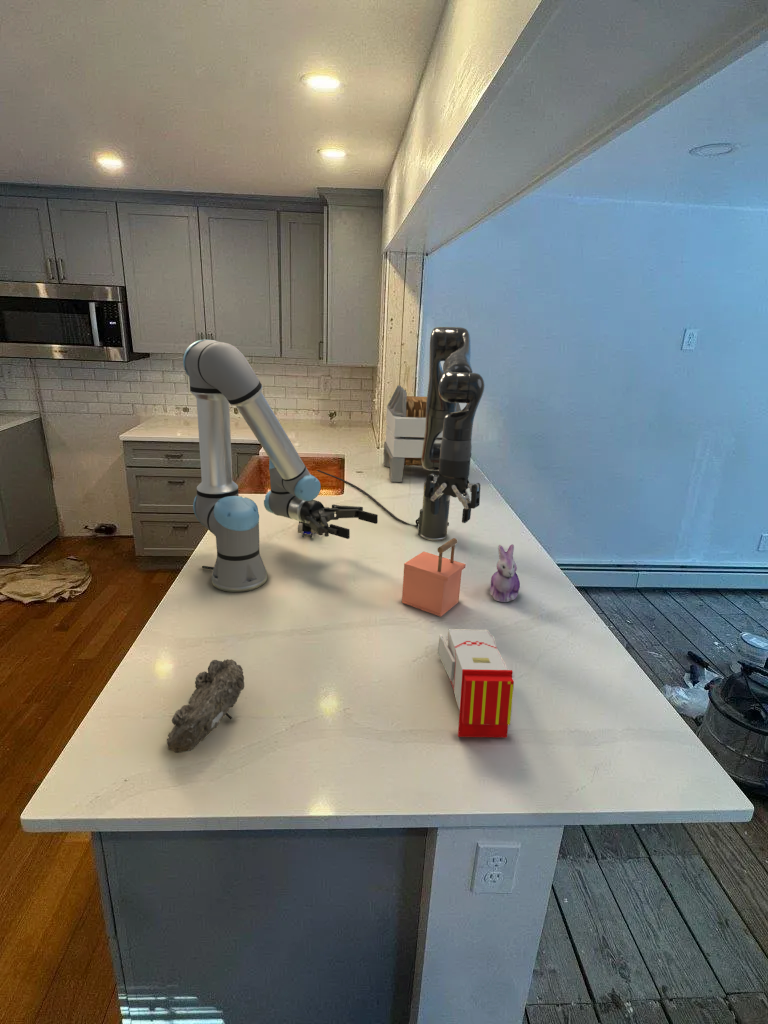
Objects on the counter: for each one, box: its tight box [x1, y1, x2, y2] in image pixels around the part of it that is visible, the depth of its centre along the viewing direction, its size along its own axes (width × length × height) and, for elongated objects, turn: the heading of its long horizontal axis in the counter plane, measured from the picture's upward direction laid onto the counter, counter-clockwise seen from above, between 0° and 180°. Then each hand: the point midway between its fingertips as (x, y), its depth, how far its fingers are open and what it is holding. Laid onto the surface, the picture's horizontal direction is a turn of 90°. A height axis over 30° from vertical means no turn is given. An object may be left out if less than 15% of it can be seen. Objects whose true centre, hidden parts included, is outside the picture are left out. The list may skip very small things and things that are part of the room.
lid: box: [403, 537, 467, 581], centre depth 149 cm, size 13×10×8 cm
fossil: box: [166, 658, 245, 754], centre depth 106 cm, size 22×10×15 cm
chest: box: [401, 566, 463, 618], centre depth 152 cm, size 12×10×11 cm
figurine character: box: [297, 521, 316, 538], centre depth 197 cm, size 7×8×15 cm
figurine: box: [489, 544, 521, 603], centre depth 157 cm, size 9×10×15 cm
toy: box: [437, 628, 515, 738], centre depth 117 cm, size 12×13×30 cm
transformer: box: [383, 384, 462, 483], centre depth 268 cm, size 34×33×41 cm
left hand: (363, 526), depth 162 cm, fingers open, 13 cm apart
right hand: (449, 518), depth 144 cm, fingers open, 8 cm apart
